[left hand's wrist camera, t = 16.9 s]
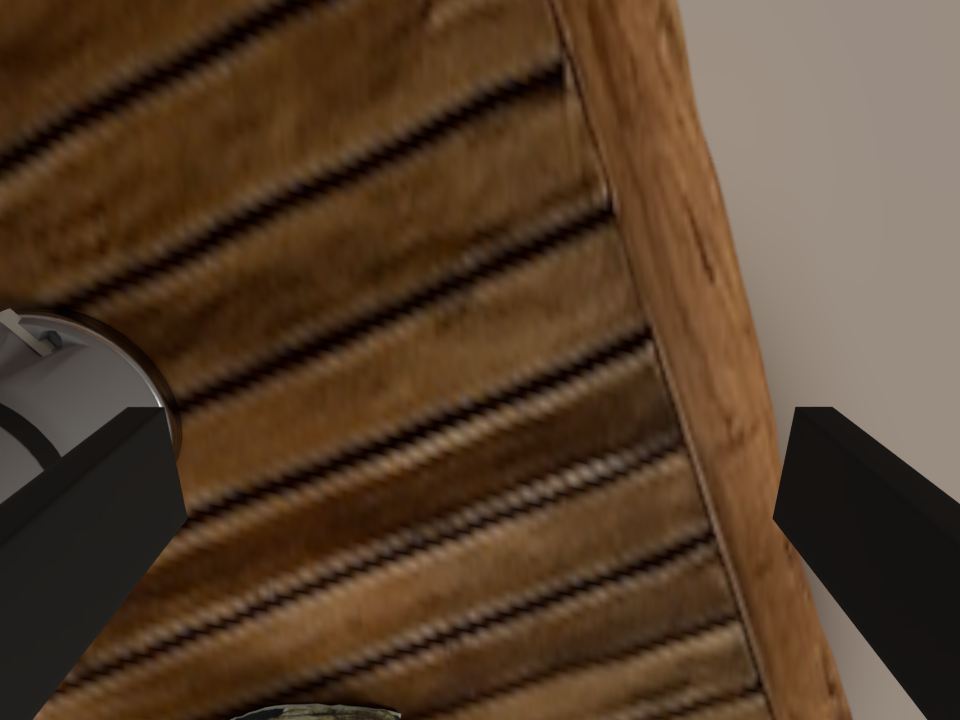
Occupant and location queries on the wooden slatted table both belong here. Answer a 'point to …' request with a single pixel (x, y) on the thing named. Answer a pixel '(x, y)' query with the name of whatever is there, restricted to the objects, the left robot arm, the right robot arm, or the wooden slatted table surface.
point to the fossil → (319, 713)
